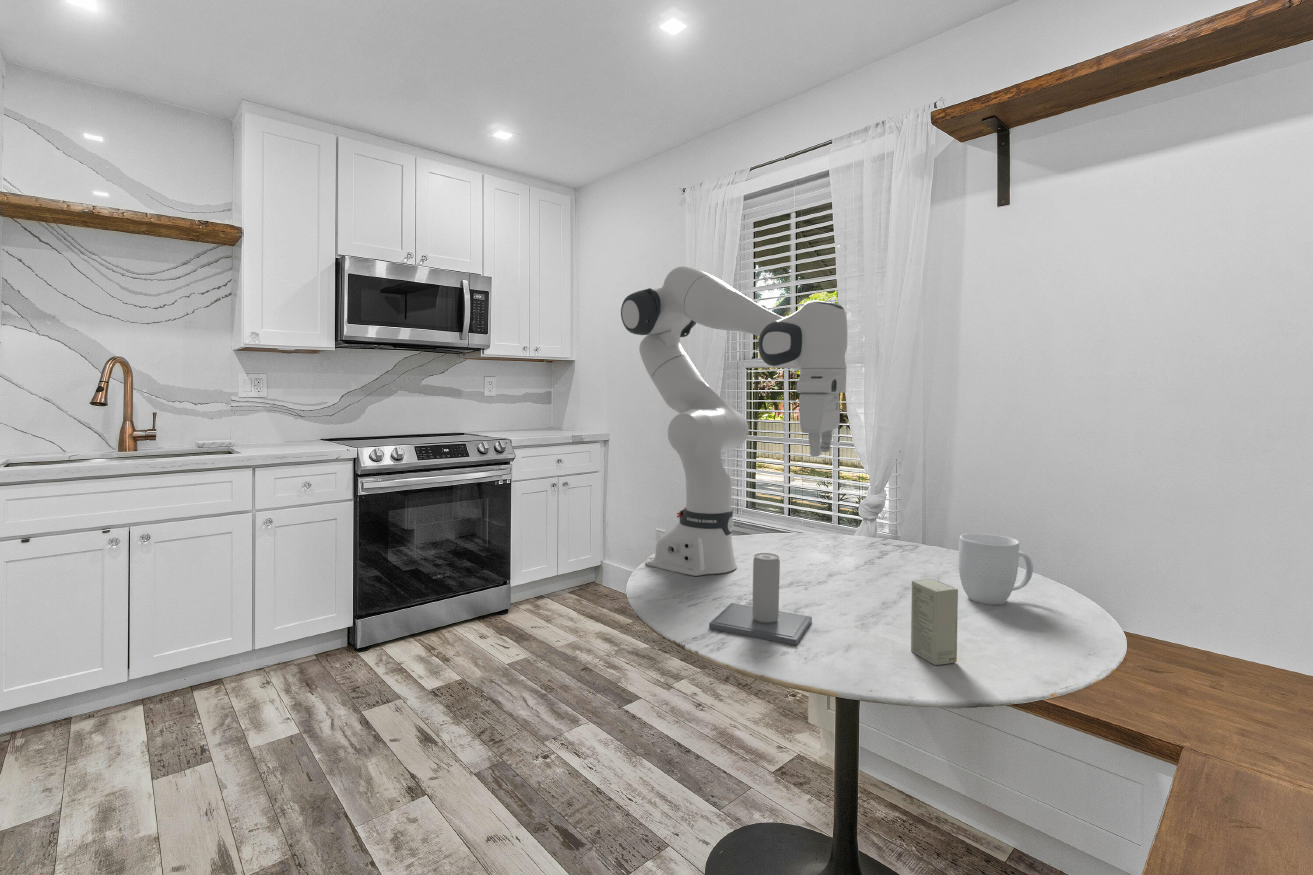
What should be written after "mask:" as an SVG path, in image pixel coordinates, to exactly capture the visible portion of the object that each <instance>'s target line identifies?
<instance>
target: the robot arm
mask: <svg viewBox="0 0 1313 875" xmlns="http://www.w3.org/2000/svg"><path fill="white" fill-rule="evenodd" d="M620 317H621V321H622V324H623V326H624V327H625V329H626V330H627V331H628V332H629V333H631V334H634V335H637V336H644V337H643V339H642V340H641V342H640V344H639V348H638V350H639V354H640V357H641V360H642V363H643V365H644V367H645V369H646V372H647V374H648V375H649V377H650V379H651V380H652V382H653V384H654V385H655V387H656V389H657V390H658V392H659V394H660V396H661V398H662V399H663V400H664V403H665V405H667V406H668V407H669V408H671V409H672V410H673V411H675V412H677V413H678V414H676V415H675V416H674V417H673V418H672V419H671V420H670V423H669V424H668V427H667V428H668V429H667V438H668V441H669V444H670V446H671V448H673V449H674V450H675V451H676V453H677V454H678V456H679V458H680V461H681V463H682V467H683V470H684V474H685V488H686V489H685V492H686V494H685V495H686V499H685V501H686V502H685V503H686V507H684V508H683V509H682V510H679V512H677V513H676V518H677V519H679V522H678V523H677V524H675V525H674V526H673V527H672V528H670V529H669V530H668V531H667V532H665V533H664V534H663V535H661V536H660V537H659V538H658V540H657V543H656V546H655V547H656V548H655V552H654V553H652V554H650V555H649V556H648V557H647V558H646V562H648V563H647V564H646V565H647V566H649V567H654V568H658V569H663V570H667V571H670V572H676V573H680V574H684V575H689V576H695V577H696V576H703V575H715V574H725V573H729V572H732V571H734V570H735V569H737V567H738V564H737V562H736V558H735V552H734V546H733V535H732V534H733V529H734V513H733V512H734V511H733V509H732V488H733V487H732V478H731V476H730V475H729V473H727V471H726V470H725V467H724V463H723V460H722V453H727V452H730V451H732V450H735V449H736V448H738V447H740V446H741V445H743V443H745V441H747V438H748V436H749V424H748V421H747V419H746V417H745V416H744V415H743V414H742V413H741V412H739V411H737V410H735V409H734V408H733V407H731V406H730V405H729V404H728V403H727V402H726V401H725V400H724V399H723V398H722V397H721V396H720V395H719V394H718V393H716V391H715V390H714V389H712V387H711V386H710V385H709V384H708V383H707V382H706V380H704V378H703V376H702V375H701V373H700V372H699V371H698V369H697V367H696V365H695V364H694V363H693V361H692V360H691V359H690V357H689V355H688V354H687V352H686V351H685V349H684V348H683V346H682V344H681V338H685V337H688V336H689V335H690V333H691V330H692V329H693V328H694V327H695V326H696V325H697V324H698V325H701V326H705V327H707V328H710V329H715V330H722V331H729V332H730V331H733V332H741V333H747V334H750V335H755V336H757V337H758V342H757V348H758V353H759V356H760V358H761V360H762V361H763V362H764V363H765V364H767V365H769V366H771V367H775V368H779V369H781V368H782V369H792V370H793V369H794V370H799V379H798V380H797V381H796V389H795V390H796V393H797V394H799V396H798V397H799V398H798V399H799V400H798V404H799V405H798V408H799V426H800V429H801V430H800V431H801V433H803V434H808V443H809V447H810V448H809V455H810V456H811V457H820V456H821V455H822V453H829V452H831V446H832V444H831V443H832V439H833V435H834V434H833V433H834V431H833V430H837V429H839V427H840V393H841V394H843V393H844V394H845V393H847V362H846V352H847V349H848V320H847V319H848V318H847V313H846V310H845V308H844V307H843V306H842V305H841V304H839V303H836V302H829V301H825V300H824V301H823V300H809V301H806V302H805V303H804V304H803V305H802V306H801V307H800V309H798V310H797V311H795V312H794V313H792V314H789V315H788V316H785V317H784V316H782V315H780V314H778V313H776V312H774V311H772V310H770V309H768V308H765V307H764V306H762V305H760V304H759V303H757V302H755V301H754V300H752V299H751V298H749V297H747V296H745V295H744V294H742V293H741V292H739V291H738V290H737V289H735V288H733V287H732V286H730V285H729V284H727V283H726V282H724V281H723V280H722V279H719V278H718V277H715V276H714V275H711V274H709V273H708V272H705V271H703V270H699V269H696V268H692V267H688V266H678V267H676V268H674V269H672V270H670V272H669V273H668V274H667V275H666V277H665V279H664V281H663V285H662V287H661V288H654V289H652V288H645V289H641V290H639V291H638V290H637V291H635V292H632V293H630V294H628V295H627V296H626V297H625V298H624V300H623V301H622V304H621V308H620ZM652 559H653V560H652ZM646 562H645V563H646Z"/></svg>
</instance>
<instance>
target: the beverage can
mask: <svg viewBox="0 0 1313 875" xmlns="http://www.w3.org/2000/svg"><path fill="white" fill-rule="evenodd" d="M753 557H754V558H753V560H752V561H753V564H752V607H753V618H754V620H755V621H757V622H759V623H763V624H771V623H774V622H776V621H777V620H778V614H779V611H780V610H779V608H780V607H779V605H780V574H781V572H780V570H781V569H780V568H781V567H780V566H781V561H780V556H779V555H778V554H774V553H768V552H760V553H755V554H754V556H753Z"/></svg>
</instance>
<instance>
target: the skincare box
mask: <svg viewBox="0 0 1313 875" xmlns="http://www.w3.org/2000/svg"><path fill="white" fill-rule="evenodd" d="M958 598H959V589H958V588H957V587H954V586H953V585H949V584H946V583H945V582H942V581H939V580H937V579H934V578H927V579H916V580H911V613H910V615H911V616H910V617H911V623H910V626H911V627H910V628H911V629H910V633H911V634H910V651H911V652H913V654H915V655H917V656H918V657H920V658H922V659H924V660H925V661H927V662H929V663H930V664H932V665H934V666H939V665H941V666H942V665H948V664H949V665H950V664H954V663H957V660H958V606H959V605H958V603H959V599H958Z"/></svg>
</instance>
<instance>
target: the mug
mask: <svg viewBox="0 0 1313 875" xmlns="http://www.w3.org/2000/svg"><path fill="white" fill-rule="evenodd" d="M1020 557H1022V558H1023V559H1024V562H1025V566H1026V567H1025V572H1024V576H1023V577H1022V579H1021V580H1020V581H1019V582H1018V583H1016V581H1017V576H1018V570H1019V564H1020V563H1019V561H1020V560H1019V559H1020ZM958 574H959V580H960V583H961V586H962V589H963V591H964V592H965V594H966V597H968V599H970V600H971V601H972V602H975V603H978V604H981V605H989V606H991V605H992V606H1000V605H1003V604H1004V603H1005V602H1006V601H1007V600H1008V599H1009V597H1010V596H1011V595H1012V594H1011V593H1012V592H1013V591H1017V590H1021V589H1023V588H1025V586H1027V585H1028V584H1029V582H1030V580H1031V579H1032V576H1033V574H1034V564H1033V561H1032V559H1031V557H1030V556H1029V555H1028V554H1027V553H1025V552H1023V551H1022V550H1020V542H1019V540H1017V539H1015V538H1013V537H1009V536H1005V535H999V534H992V533H985V532H981V533H980V532H971V533H969V532H968V533H963V534H961V535H959V542H958Z"/></svg>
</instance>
